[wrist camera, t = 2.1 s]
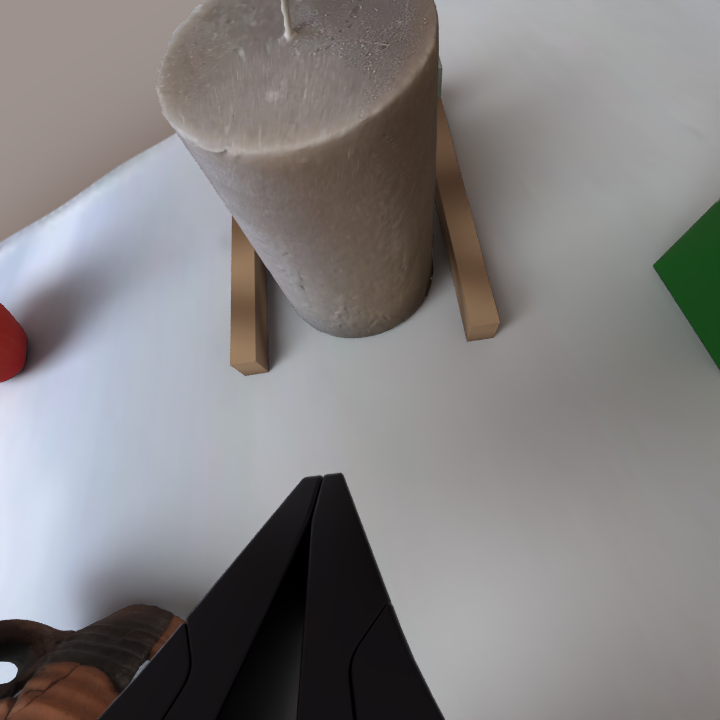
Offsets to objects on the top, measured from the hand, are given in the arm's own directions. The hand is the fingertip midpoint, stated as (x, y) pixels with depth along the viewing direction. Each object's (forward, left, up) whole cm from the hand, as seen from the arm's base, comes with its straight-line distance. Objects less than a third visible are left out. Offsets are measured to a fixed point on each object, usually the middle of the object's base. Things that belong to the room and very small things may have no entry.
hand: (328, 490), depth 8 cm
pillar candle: (+14, -3, -13) cm, 19 cm away
